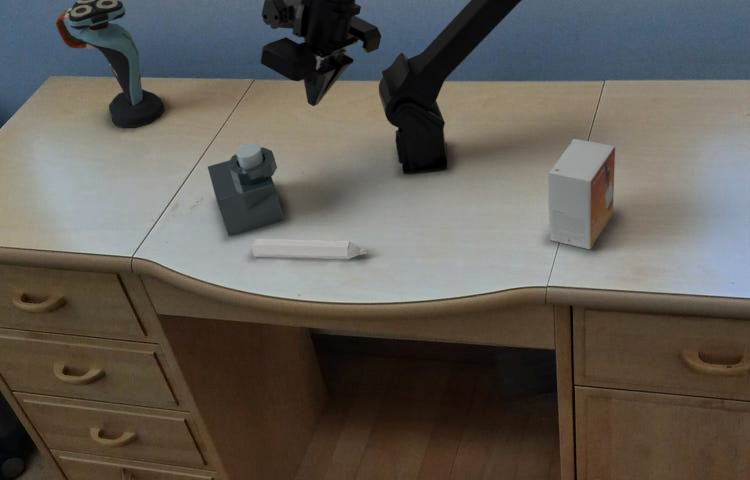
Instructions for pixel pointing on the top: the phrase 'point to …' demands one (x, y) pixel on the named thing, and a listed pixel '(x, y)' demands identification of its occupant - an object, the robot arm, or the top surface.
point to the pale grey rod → (306, 249)
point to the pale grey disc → (249, 156)
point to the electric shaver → (113, 58)
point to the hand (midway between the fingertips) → (312, 104)
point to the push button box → (246, 194)
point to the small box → (581, 193)
